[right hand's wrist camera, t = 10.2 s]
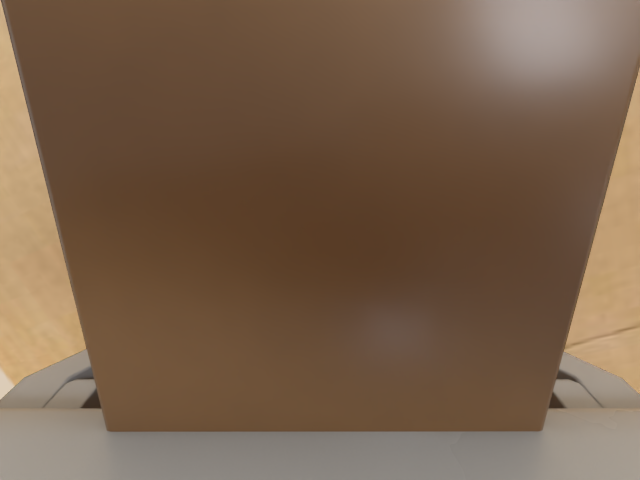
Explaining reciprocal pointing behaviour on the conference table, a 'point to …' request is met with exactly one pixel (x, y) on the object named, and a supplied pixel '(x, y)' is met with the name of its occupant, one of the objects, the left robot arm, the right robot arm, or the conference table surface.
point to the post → (326, 201)
